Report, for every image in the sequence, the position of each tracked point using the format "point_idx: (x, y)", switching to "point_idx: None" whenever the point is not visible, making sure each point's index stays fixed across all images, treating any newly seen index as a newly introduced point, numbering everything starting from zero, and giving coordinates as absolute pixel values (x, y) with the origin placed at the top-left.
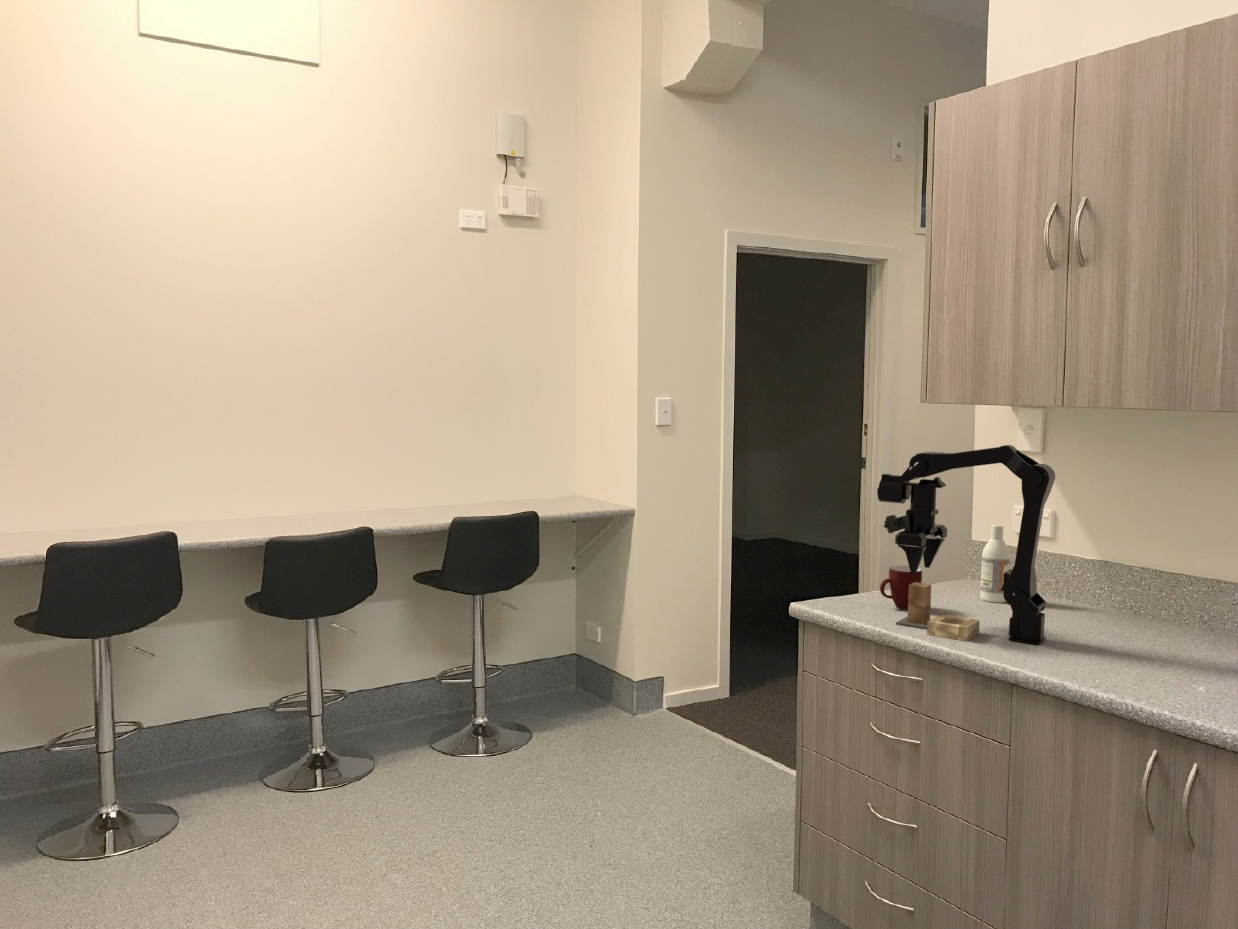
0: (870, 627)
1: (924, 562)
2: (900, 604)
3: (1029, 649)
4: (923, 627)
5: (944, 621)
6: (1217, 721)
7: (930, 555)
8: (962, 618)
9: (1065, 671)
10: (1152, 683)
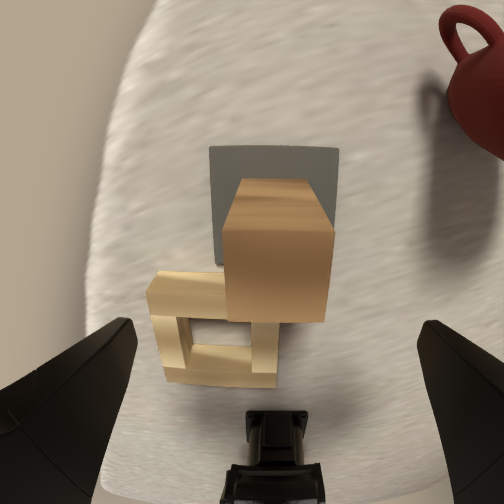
0: (118, 99)
1: (439, 341)
2: (449, 91)
3: (211, 432)
4: (214, 244)
5: None
6: (115, 492)
7: (450, 419)
8: (265, 357)
9: (138, 454)
10: (173, 490)
